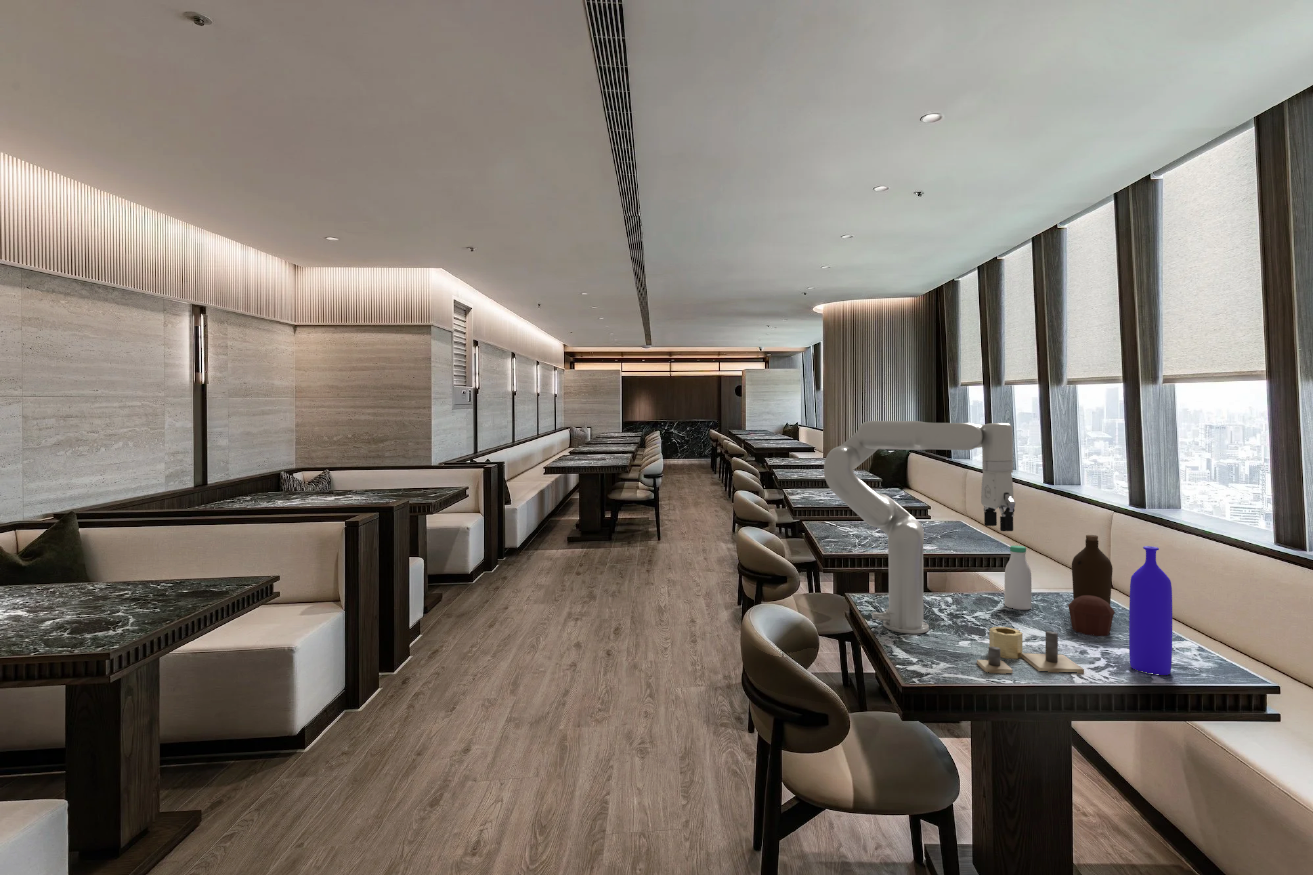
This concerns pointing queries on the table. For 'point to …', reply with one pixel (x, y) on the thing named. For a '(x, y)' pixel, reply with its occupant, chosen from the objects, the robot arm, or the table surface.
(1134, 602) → the bottle
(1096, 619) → the muffin
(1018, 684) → the table surface
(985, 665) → the short post
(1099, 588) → the olive oil
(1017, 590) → the milk bottle
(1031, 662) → the post stand
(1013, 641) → the brass ring
